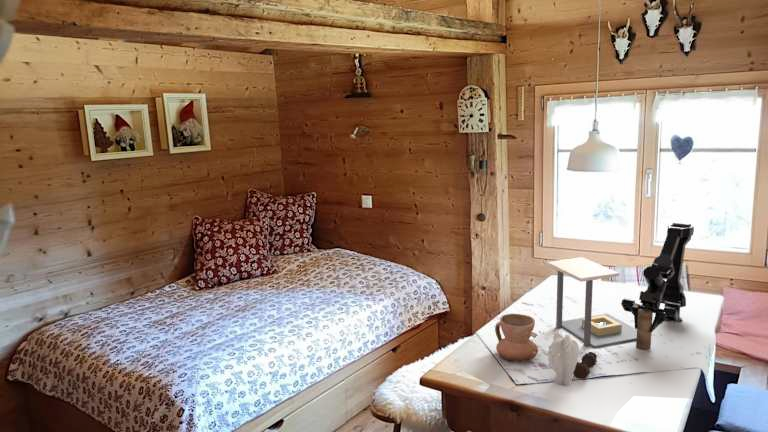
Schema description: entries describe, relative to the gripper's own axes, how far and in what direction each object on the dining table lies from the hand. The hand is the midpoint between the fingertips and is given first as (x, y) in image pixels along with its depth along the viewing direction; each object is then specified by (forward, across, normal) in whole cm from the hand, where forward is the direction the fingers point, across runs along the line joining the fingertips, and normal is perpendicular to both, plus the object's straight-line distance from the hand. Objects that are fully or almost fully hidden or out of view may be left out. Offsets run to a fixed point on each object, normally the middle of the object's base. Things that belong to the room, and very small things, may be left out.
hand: (643, 330), depth 208 cm
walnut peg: (+4, 0, +6) cm, 7 cm away
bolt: (+24, -9, -14) cm, 29 cm away
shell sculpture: (+34, -12, -23) cm, 42 cm away
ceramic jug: (+28, -33, -18) cm, 47 cm away
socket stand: (+2, -19, +8) cm, 21 cm away
